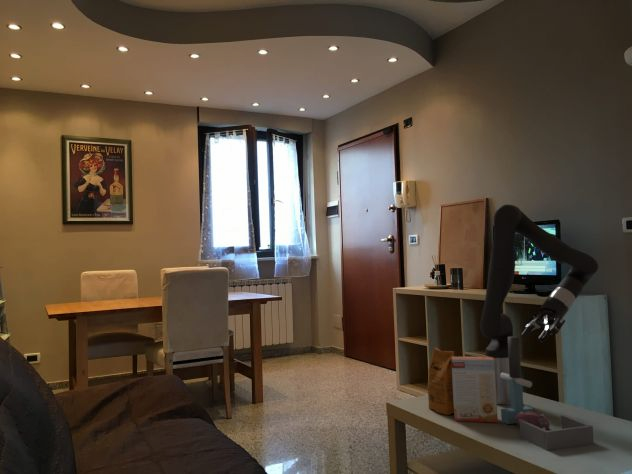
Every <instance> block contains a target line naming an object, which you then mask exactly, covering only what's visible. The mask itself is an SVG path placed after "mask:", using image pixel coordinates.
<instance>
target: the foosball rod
mask: <svg viewBox="0 0 632 474" xmlns="http://www.w3.org/2000/svg"><path fill="white" fill-rule="evenodd" d="M520 347H521V346H520V336H514V335H513V336H511V337H508V355H509V374H506V373H503V372H502V373H501V374H500V377H501V378H503V379H505V380H508V381H509V388H510V404H509V407H508V408H501V409H500V415H501V416H500V417H501V422H502V423H505V424H506V425H511V424H517V423H516V416H517V414H519V413H520V412H523V413H525V412H534V408H532V407H530V406H527V405H525V406H524V393H523V387H526V388H528V389H529V388H532V387H533V382H532V381H530V380H527V379H524V378H522V369H521V368H522V365H521V350H520V349H521V348H520Z"/></svg>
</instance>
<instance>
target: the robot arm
mask: <svg viewBox="0 0 632 474" xmlns="http://www.w3.org/2000/svg"><path fill="white" fill-rule="evenodd" d="M516 233H517V234H520V235H521V236H522V237H524V238H525V239H526V240H528V241H529V242H531V243H532V245H534V246H535V247H536V248H538V249H539V251H541V252H542V253H544V254H545V255H546V256H547V257H549V258H551V259H552V260H554V261H555V262H556V263H558V264H561V265H562V264H563V265H564V264H568V265H569V266H571V268H570V269H569V270H568V273H566V275H565V277H564V278H562V280H561V281H560V282H559V283H558V284H557V286H556V287H555V288H554V290H552V292H551V293H550V294H549V295H548V296H547V298H546V299H545V301H544V302H543V304H542V305H541V306H540V308H541V311H540V312H539V313H536V312H535V311H533V312H532V313H531V314H530V315H529V317H528V318H527V319H526V320H525V321H524V322H523V326H525V329H524V330H523V331H522V332H521V335H520V336H521V337H522V338H523V340H527V339H528V338H529V336H530V335H531V334H532V332H533V331H534V330H536V329H537V330H538V329H541V328H544V330H543V331H542V332H541V334H540V335H539V336H538V337H537V340H538V341H539V342H540V343H545V342H546V341H547V339H548V338H549V336H551V335H553V334H555V335H557V334H558V333H559V332H560V330H561V329H562V328H563V326H564V324H566V323H565V322H566V319H564V317H565V316H566V315H567V313H568V312H569V311H570V309H571V308H572V307H573V305H574V303H575V301H576V300H577V298H578V296H579V295H580V294H581V293H582V291H583V288H584V287H585V285H586V284H587V283H588V282H589V281H590V280H591V279H592V277H594V275H595V274H596V273H597V272H598V270H599V263H598V262H597V260H596V259H595V258H594V257H593V256H592V255H590V254H588V253H586V252H583V251H582V250H579V249H576V248H573V247H571V246H570V245H568V244H567V243H565V241H563V240H561V239H559V238H557V237H556V236H554V235H553V234H552V233H550V232H549V231H546V230H545V229H543V228H542V227H541V226H539V225H538V224H536V223H535V222H534V221H533V220H531V218H529V217H528V216H527V215H526V214H525V213H524V211H522V210H521V208H519V207H518V206H516V205H514V204H502V205H500V206H499V207H497V209H496V210H495V211H494V214H493V241H492V248H491V252H490V260H489V265H488V273H487V285H486V291H485V292H486V293H485V299H484V304H483V308H482V313H481V317H480V322H479V323H480V324H479V325H480V327H479V328H480V331H481V333H482V336H484V338H485V339H486V338H487V339H488V340H490V343H489V344H488V346H487V347H486V348H485V357H493V358H494V364H495V381H496V399H497V405H510V388H509V381H508V380H505V379H503V378H501V377H500V374H501V373H502V372H503V373H506V374H509V355H508V337H511V336H514V327H513V323H512V320H511V318H510V317H509V316H508V315H507V314H505V313H503V312H502V311H503V307H504V302H505V300H506V298H507V296H508V294H509V292H510V290H511V288H512V286H513V283H514V280H515V271H516V257H515V256H516V255H515V244H514V243H515V237H516Z"/></svg>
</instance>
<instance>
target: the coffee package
mask: <svg viewBox="0 0 632 474" xmlns="http://www.w3.org/2000/svg"><path fill="white" fill-rule="evenodd" d="M453 356H454V357H456V356H457V352H456V351H454V350H453V351H452V350H440V349H439V348H438V347H434V350H433V353H432V356H431V360H430V363H429V368H428V376H427V396H428V399H427V400H428V409H429V410H433V411H435V412H436V413H437V414H441V415H445V416H449V415H451V414H454V401H453V380H452V357H453Z"/></svg>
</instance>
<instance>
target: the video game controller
mask: <svg viewBox="0 0 632 474" xmlns="http://www.w3.org/2000/svg"><path fill="white" fill-rule="evenodd" d="M520 420H523V421H526V422H528V423H530V424H531V423H533V425H535V426H537V427H539V428H541V429H543V428H544V430H546V431H549V430H550V427H551V425H550V421H549V419H548V417H547V416H546V415H545V414H544V413H538V412H535V411H533V412H525V413H523V412H520V413H519V414H517V416H516V423H515V424H516V425H517V427H520Z"/></svg>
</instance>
